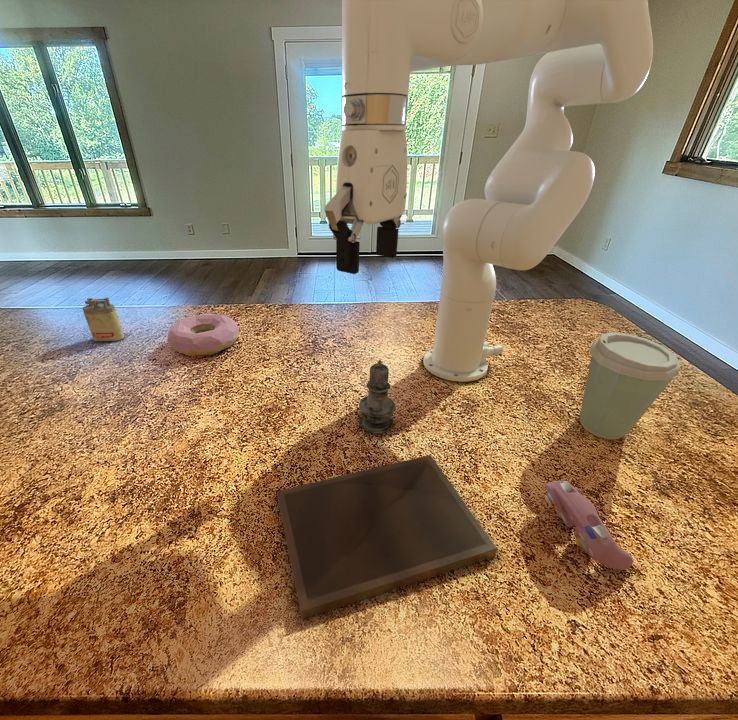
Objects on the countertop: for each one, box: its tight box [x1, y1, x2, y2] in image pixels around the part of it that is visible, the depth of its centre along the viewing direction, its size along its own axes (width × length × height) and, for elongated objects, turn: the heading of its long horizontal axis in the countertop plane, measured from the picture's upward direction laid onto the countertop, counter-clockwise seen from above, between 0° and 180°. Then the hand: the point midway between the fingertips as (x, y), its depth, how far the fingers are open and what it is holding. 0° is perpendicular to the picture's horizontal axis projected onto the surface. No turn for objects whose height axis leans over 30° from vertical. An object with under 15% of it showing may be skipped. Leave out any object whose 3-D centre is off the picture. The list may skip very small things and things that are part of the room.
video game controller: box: [544, 480, 634, 571], centre depth 43 cm, size 10×5×7 cm, turn 5°
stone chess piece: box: [358, 359, 397, 434], centre depth 59 cm, size 6×6×12 cm
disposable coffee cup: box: [578, 331, 681, 440], centre depth 57 cm, size 11×11×15 cm
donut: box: [166, 312, 239, 357], centre depth 86 cm, size 16×15×5 cm
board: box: [276, 454, 498, 620], centre depth 45 cm, size 22×15×2 cm
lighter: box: [82, 297, 126, 342], centre depth 88 cm, size 7×4×10 cm, turn 91°
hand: (367, 263), depth 52 cm, fingers open, 9 cm apart
